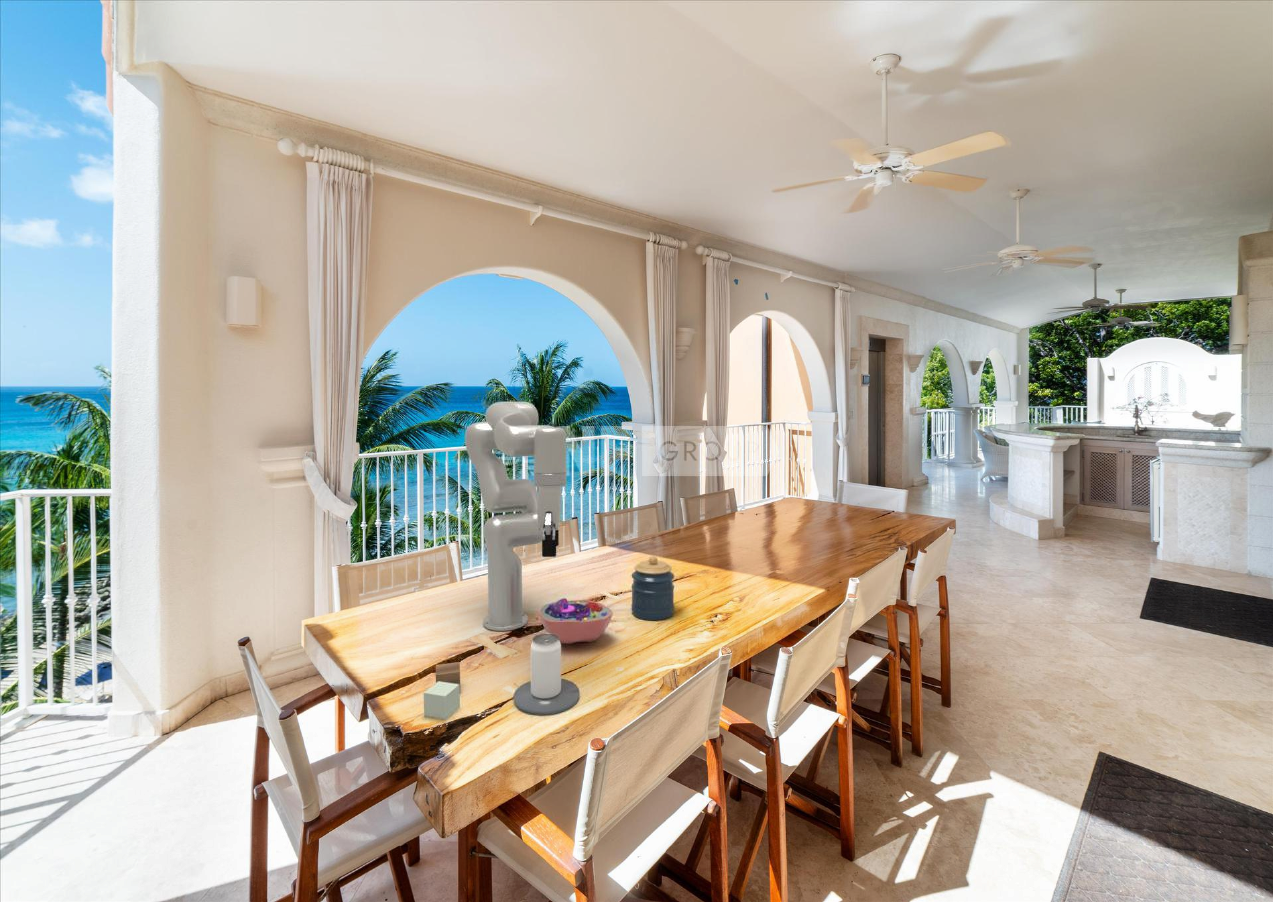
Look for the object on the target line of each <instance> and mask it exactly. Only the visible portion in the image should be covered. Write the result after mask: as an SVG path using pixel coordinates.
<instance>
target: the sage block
mask: <svg viewBox="0 0 1273 902" xmlns="http://www.w3.org/2000/svg"><path fill="white" fill-rule="evenodd" d="M460 694H461V687H460V688H459V684H453V683H447V682H440V681H438V682H437V683H436V682H435V684H433V685H432V686H430V687H429V688H428V689H427V690H426V691H424V692H423V716H424V717H426V716H427V718H432V717H435V718H434V719H437V720H438V719H440V720H444V721H446V720H447V719H448V718H450V717H451V716H452V715H453V714H454V713H455V712H456V711H458V709H460V708H461V701H460V698H461V695H460Z"/></svg>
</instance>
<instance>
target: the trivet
mask: <svg viewBox="0 0 1273 902" xmlns="http://www.w3.org/2000/svg"><path fill="white" fill-rule="evenodd" d="M579 699H580V689H579V687H578V685H577V684H576V683H574V682H573V681H571V680H568V679H566V678H562V677H561V691H560V693H559V694H558V695H557V696H555V697H553V698H550V699H539V698H536V697H534V696H533V695H532V693H531V680H530V681H527V682H525V683H523V684H521V685H520V686H518V687H517V688H516V689H515V691H514V693H513V704H514V706H515V708H516V709H517V710H519V711H520V712H522V713H525V714H528V715H532V716H550V715H551V716H553V715H557V714H560V713H563V712H566V711H567V710H570V709H571V708H573V707H574V706H575V705H577V703H578V701H579Z"/></svg>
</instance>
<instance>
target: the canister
mask: <svg viewBox="0 0 1273 902" xmlns="http://www.w3.org/2000/svg"><path fill="white" fill-rule="evenodd" d="M633 568H634V572H632V573H631V578H632V579H633V581H632V584H631V605H630V606H631V608H630V609H631V613H632V615H633V616H634V617H636V618H637V619H641V620H644V621H645V620H646V621H662V620H666V619H669V618H671V617H672V616H673V615H674V611H675V604H674V595H675V594H674V593H675V592H674V591H675V585H674V582H673V580H674V578H675V574H674V573H673V572H671V571H672V569H673V568H672V566H671V565H669V564H667V563H666V562H665V561H663V560H658V558H657V557H656V556H655V555H652V556H650V557H649V559H648V560H643V561H641V562H639V563H638V564H636V565H635V566H634V567H633Z"/></svg>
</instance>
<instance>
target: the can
mask: <svg viewBox="0 0 1273 902" xmlns="http://www.w3.org/2000/svg"><path fill="white" fill-rule="evenodd" d="M561 644H562V643H560V641H559V637H558V636H557V635H555V634H551V633H548V632H546V633H540V634H536V635H534V637H533V638H532V643H531V644H530V681H531V693H532V695H533V696H534V697H536V698H539V699H550V698H553V697H555V696H557V695H558V694H559V693H560V691H561V678H562V645H561Z"/></svg>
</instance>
